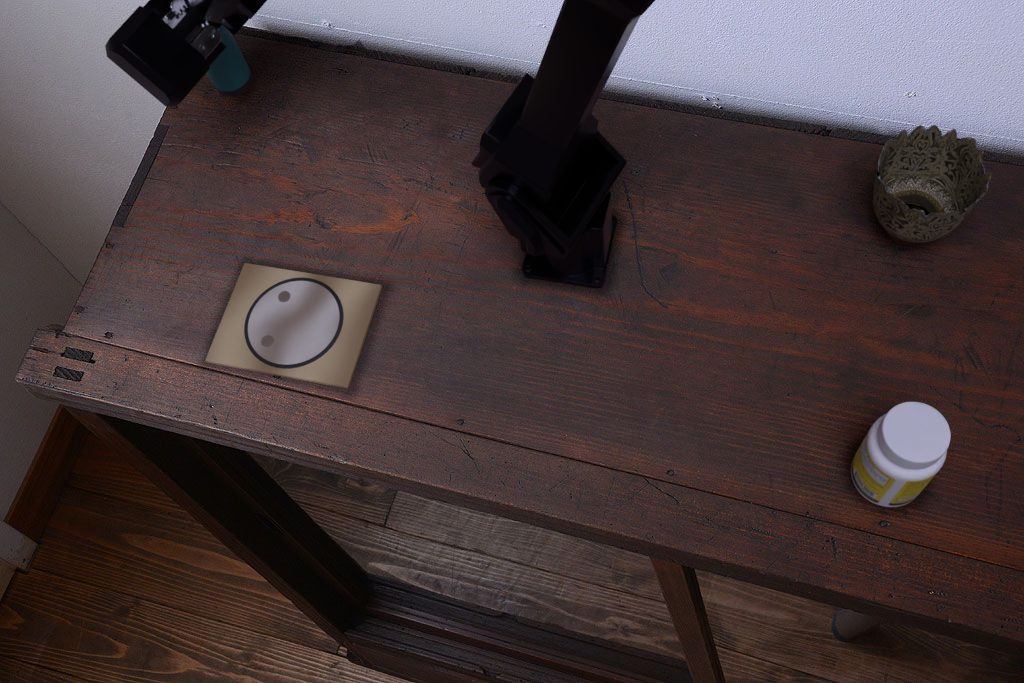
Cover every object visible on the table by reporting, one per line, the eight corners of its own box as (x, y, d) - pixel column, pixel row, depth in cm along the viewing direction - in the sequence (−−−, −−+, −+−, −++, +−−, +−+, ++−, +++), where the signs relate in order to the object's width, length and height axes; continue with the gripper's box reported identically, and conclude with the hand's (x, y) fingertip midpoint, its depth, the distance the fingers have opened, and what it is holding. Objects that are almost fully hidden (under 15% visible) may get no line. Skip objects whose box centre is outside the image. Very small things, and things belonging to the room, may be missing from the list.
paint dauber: (260, 68, 85) (203, -43, 74) (246, 100, 84) (186, -8, 73) (223, 64, 86) (161, -47, 75) (208, 96, 85) (143, -12, 74)
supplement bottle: (927, 453, 67) (964, 407, 59) (916, 517, 65) (953, 478, 57) (856, 434, 68) (883, 386, 60) (842, 496, 66) (869, 456, 58)
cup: (965, 269, 72) (1001, 209, 65) (863, 273, 73) (887, 214, 66) (948, 186, 76) (980, 120, 68) (850, 190, 76) (872, 126, 69)
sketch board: (383, 287, 77) (381, 283, 77) (349, 389, 74) (347, 386, 73) (246, 265, 80) (243, 261, 79) (206, 362, 76) (203, 359, 76)
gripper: (234, -228, 66) (181, -130, 79) (51, -44, 60) (28, 29, 73) (357, -99, 70) (288, -26, 84) (199, 85, 64) (151, 131, 78)
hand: (192, 22), depth 80 cm, fingers closed on paint dauber, 3 cm apart
